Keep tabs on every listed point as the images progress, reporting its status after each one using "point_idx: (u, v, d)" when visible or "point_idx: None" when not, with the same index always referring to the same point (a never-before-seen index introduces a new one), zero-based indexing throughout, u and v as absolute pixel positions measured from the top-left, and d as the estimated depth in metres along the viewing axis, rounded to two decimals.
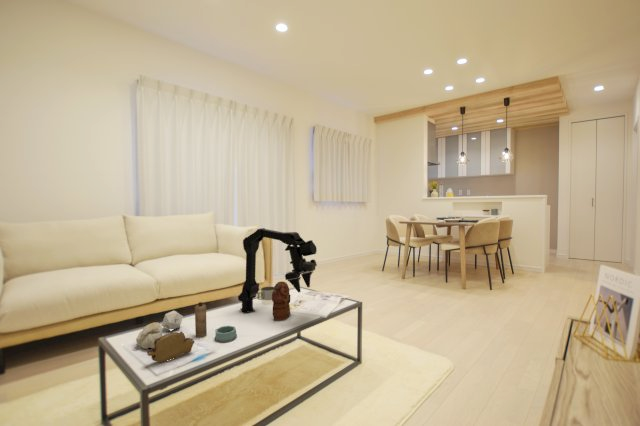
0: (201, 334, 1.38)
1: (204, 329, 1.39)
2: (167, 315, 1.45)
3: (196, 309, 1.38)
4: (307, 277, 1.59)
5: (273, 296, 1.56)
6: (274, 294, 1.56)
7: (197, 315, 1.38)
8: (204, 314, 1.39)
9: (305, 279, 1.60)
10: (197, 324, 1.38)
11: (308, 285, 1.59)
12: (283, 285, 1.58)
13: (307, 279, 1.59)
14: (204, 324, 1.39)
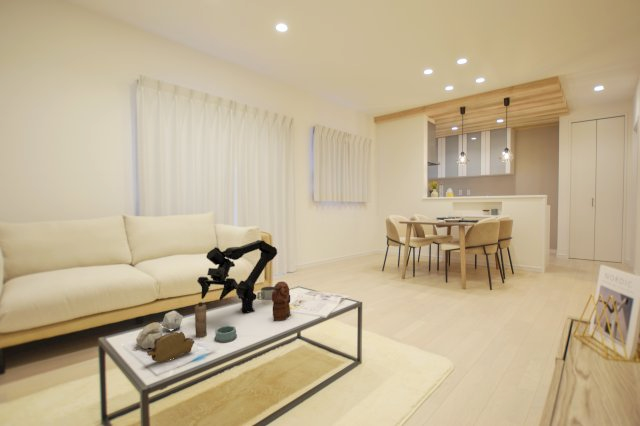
0: (201, 334, 1.38)
1: (204, 329, 1.39)
2: (167, 315, 1.45)
3: (196, 309, 1.38)
4: None
5: (273, 296, 1.56)
6: (274, 294, 1.56)
7: (197, 315, 1.38)
8: (204, 314, 1.39)
9: None
10: (197, 324, 1.38)
11: None
12: (283, 285, 1.58)
13: None
14: (204, 324, 1.39)
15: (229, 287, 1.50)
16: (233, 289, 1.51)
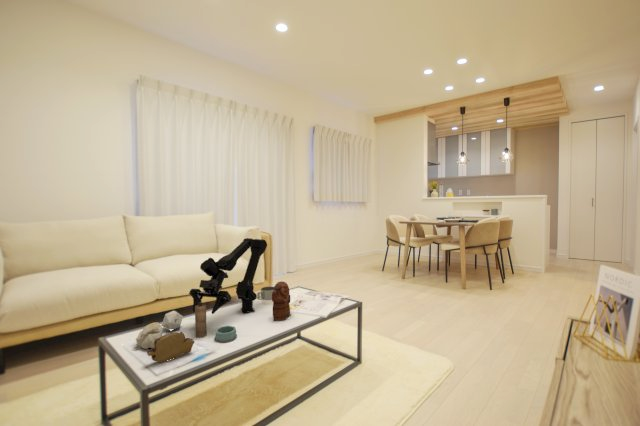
0: (201, 334, 1.38)
1: (204, 329, 1.39)
2: (167, 315, 1.45)
3: (196, 309, 1.38)
4: None
5: (273, 296, 1.56)
6: (274, 294, 1.56)
7: (197, 315, 1.38)
8: (204, 314, 1.39)
9: None
10: (197, 324, 1.38)
11: None
12: (283, 285, 1.58)
13: None
14: (204, 324, 1.39)
15: (222, 300, 1.44)
16: (226, 302, 1.45)
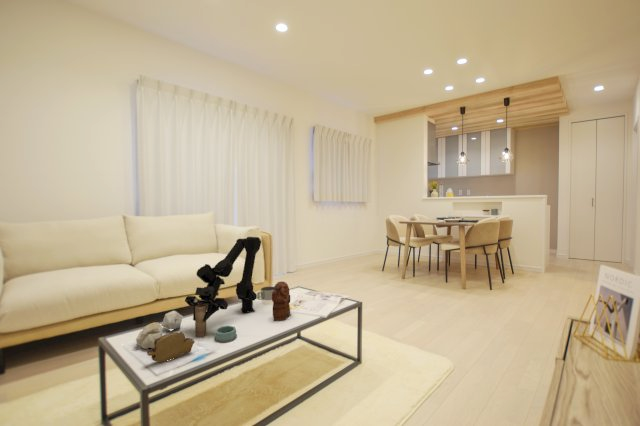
0: (201, 334, 1.38)
1: (204, 329, 1.39)
2: (167, 315, 1.45)
3: (196, 309, 1.38)
4: None
5: (273, 296, 1.56)
6: (274, 294, 1.56)
7: (197, 315, 1.38)
8: (204, 314, 1.39)
9: None
10: (197, 324, 1.38)
11: None
12: (283, 285, 1.58)
13: None
14: (204, 324, 1.39)
15: (214, 307, 1.42)
16: (218, 309, 1.43)
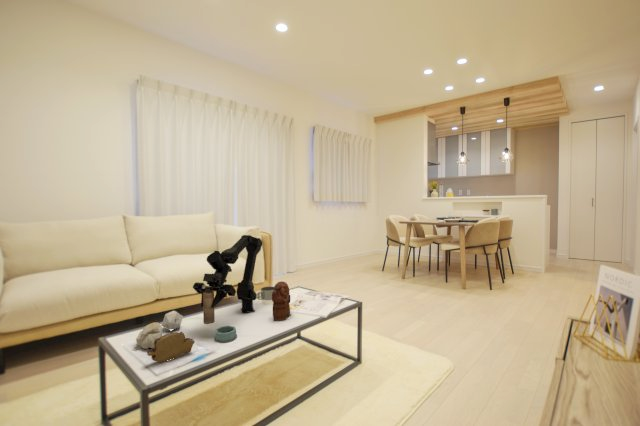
0: (209, 321, 1.37)
1: (212, 315, 1.38)
2: (167, 315, 1.45)
3: (204, 295, 1.37)
4: None
5: (273, 296, 1.56)
6: (274, 294, 1.56)
7: (205, 301, 1.36)
8: (212, 300, 1.37)
9: None
10: (205, 310, 1.37)
11: None
12: (283, 285, 1.58)
13: None
14: (212, 310, 1.38)
15: (222, 294, 1.40)
16: (226, 296, 1.42)
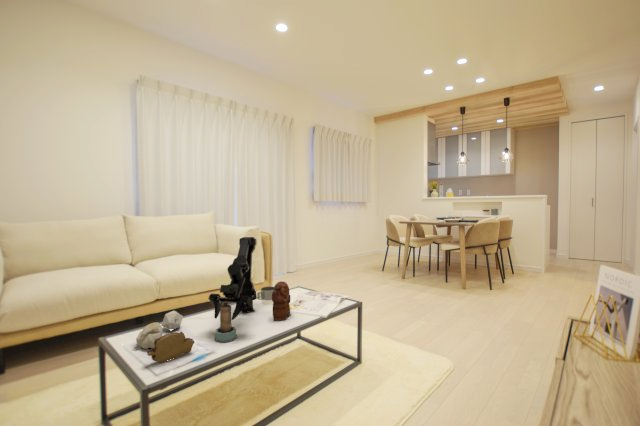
0: None
1: (229, 330, 1.36)
2: (167, 315, 1.45)
3: (221, 309, 1.35)
4: None
5: (273, 296, 1.56)
6: (274, 294, 1.56)
7: (222, 316, 1.35)
8: (229, 315, 1.36)
9: None
10: (222, 325, 1.35)
11: None
12: (283, 285, 1.58)
13: None
14: (229, 325, 1.36)
15: (242, 305, 1.39)
16: (246, 307, 1.40)
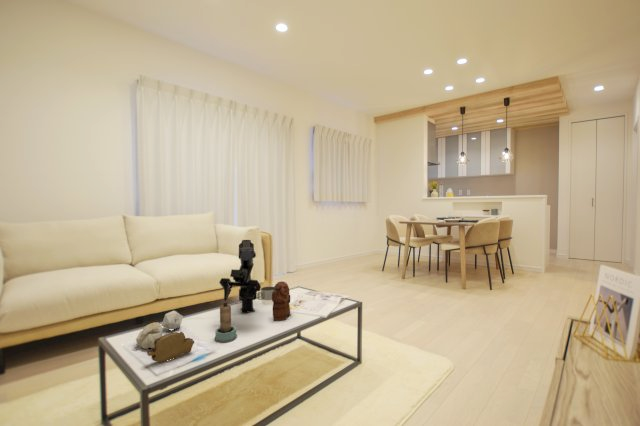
0: None
1: (229, 330, 1.36)
2: (167, 315, 1.45)
3: (221, 309, 1.35)
4: None
5: (273, 296, 1.56)
6: (274, 294, 1.56)
7: (222, 316, 1.35)
8: (229, 315, 1.36)
9: None
10: (222, 325, 1.35)
11: None
12: (283, 285, 1.58)
13: None
14: (229, 325, 1.36)
15: (252, 289, 1.47)
16: (256, 291, 1.49)
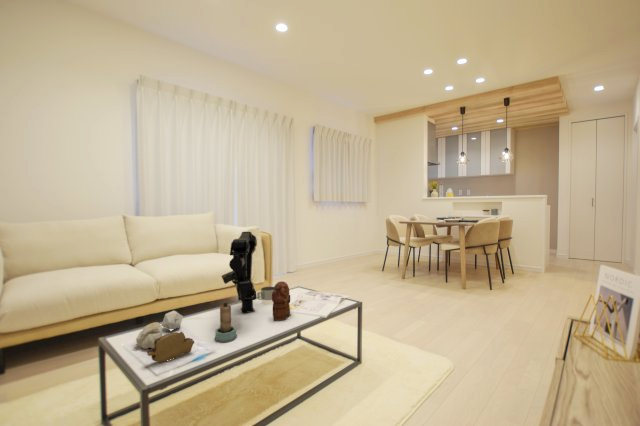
0: None
1: (229, 330, 1.36)
2: (167, 315, 1.45)
3: (221, 309, 1.35)
4: None
5: (273, 296, 1.56)
6: (274, 294, 1.56)
7: (222, 316, 1.35)
8: (229, 315, 1.36)
9: None
10: (222, 325, 1.35)
11: None
12: (283, 285, 1.58)
13: None
14: (229, 325, 1.36)
15: None
16: (248, 288, 1.47)
